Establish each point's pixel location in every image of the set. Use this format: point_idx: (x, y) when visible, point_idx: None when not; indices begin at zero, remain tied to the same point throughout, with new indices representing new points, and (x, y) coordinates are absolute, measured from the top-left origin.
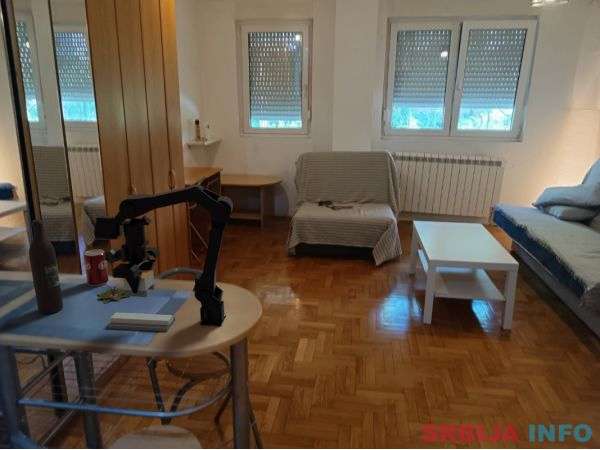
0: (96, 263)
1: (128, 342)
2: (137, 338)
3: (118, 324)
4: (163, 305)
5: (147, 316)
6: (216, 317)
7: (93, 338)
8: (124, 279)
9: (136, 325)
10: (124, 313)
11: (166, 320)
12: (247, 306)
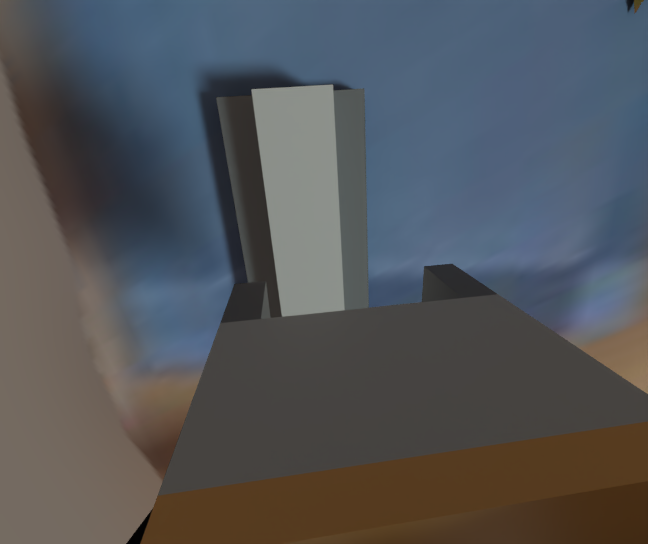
0: None
1: (129, 289)
2: (176, 309)
3: (243, 161)
4: (499, 268)
5: (317, 307)
6: None
7: (84, 74)
8: (167, 509)
9: (258, 265)
10: (328, 156)
11: None
12: None
